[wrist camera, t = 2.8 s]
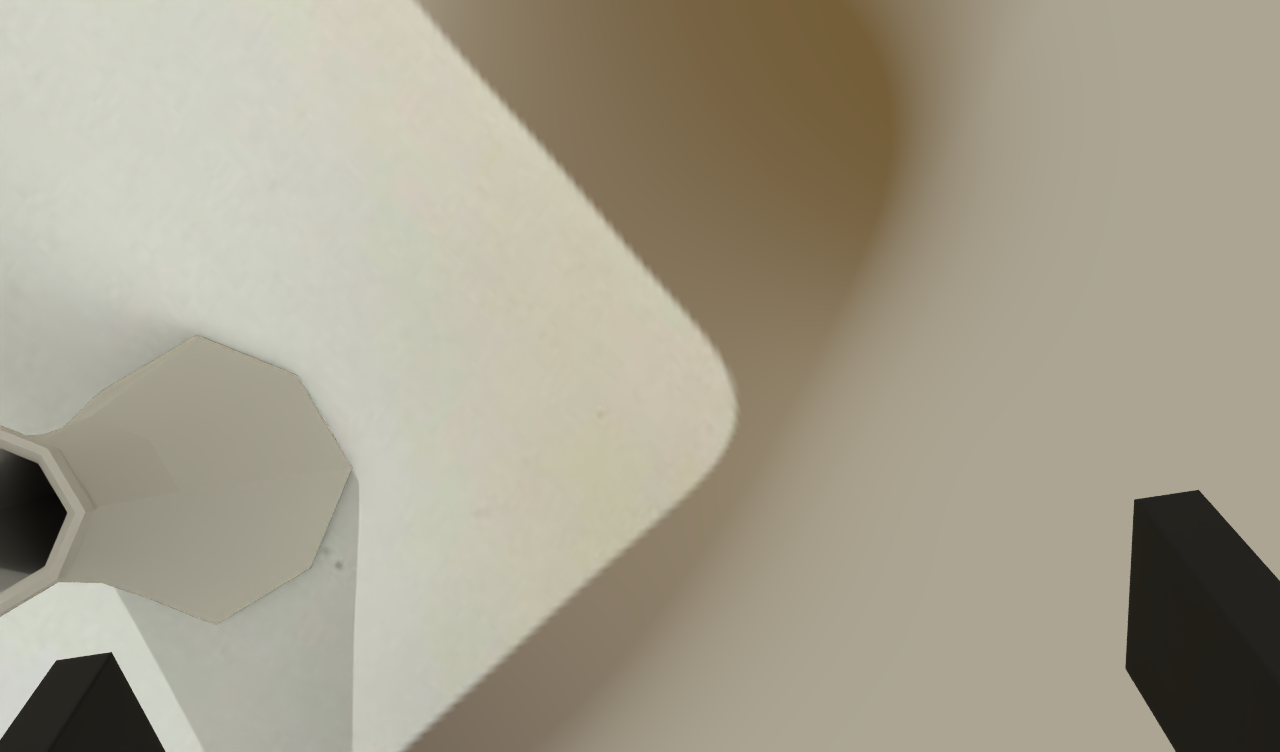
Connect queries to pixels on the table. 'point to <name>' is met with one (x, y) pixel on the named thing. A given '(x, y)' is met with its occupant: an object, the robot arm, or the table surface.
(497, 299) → the table surface
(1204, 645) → the robot arm
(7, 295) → the table surface
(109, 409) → the flask
